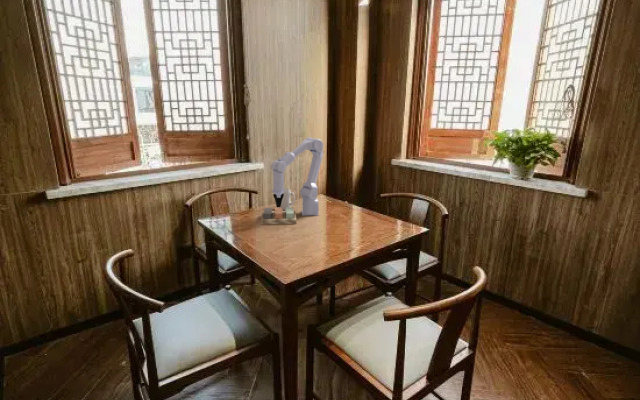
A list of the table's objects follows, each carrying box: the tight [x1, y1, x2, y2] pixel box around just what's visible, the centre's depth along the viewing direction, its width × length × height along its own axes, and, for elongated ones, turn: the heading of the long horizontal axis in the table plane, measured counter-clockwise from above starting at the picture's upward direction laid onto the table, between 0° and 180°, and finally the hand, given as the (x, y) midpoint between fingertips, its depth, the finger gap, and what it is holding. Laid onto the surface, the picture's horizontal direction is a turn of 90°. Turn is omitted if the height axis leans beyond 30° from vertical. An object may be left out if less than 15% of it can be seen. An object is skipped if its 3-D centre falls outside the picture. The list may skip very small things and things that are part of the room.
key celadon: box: [285, 206, 294, 219], centre depth 194 cm, size 4×11×4 cm, turn 7°
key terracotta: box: [274, 207, 283, 219], centre depth 193 cm, size 4×11×4 cm, turn 7°
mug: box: [279, 187, 296, 211], centre depth 212 cm, size 10×7×12 cm, turn 69°
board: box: [260, 210, 297, 225], centre depth 194 cm, size 19×15×2 cm
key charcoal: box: [263, 207, 273, 219], centre depth 193 cm, size 4×11×4 cm, turn 7°
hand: (278, 207), depth 192 cm, fingers closed
